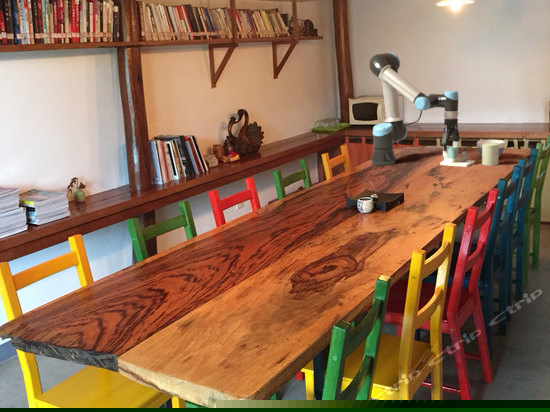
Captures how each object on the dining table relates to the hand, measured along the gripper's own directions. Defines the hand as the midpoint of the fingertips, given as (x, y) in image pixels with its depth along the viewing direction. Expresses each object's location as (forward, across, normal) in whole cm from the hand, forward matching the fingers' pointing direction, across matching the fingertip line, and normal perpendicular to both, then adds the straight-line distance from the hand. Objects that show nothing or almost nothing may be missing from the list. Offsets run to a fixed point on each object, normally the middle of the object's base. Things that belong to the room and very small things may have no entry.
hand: (450, 154), depth 371 cm
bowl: (+5, +24, -15) cm, 29 cm away
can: (+5, +6, -22) cm, 23 cm away
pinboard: (+5, 0, -4) cm, 7 cm away
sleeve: (+4, 0, 0) cm, 4 cm away
